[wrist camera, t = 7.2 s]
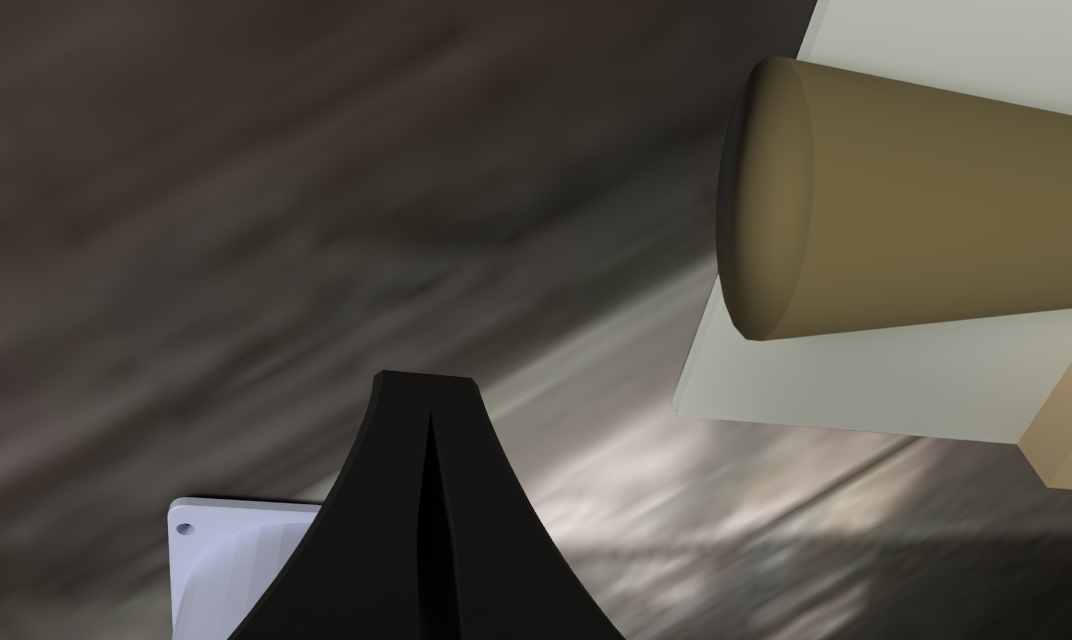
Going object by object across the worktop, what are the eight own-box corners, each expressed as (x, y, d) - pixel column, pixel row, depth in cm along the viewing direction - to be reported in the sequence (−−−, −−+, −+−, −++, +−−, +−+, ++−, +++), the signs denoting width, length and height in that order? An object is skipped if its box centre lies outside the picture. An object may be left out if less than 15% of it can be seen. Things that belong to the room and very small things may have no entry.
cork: (764, -1, 20) (1236, 31, 22) (701, 218, 25) (1097, 235, 26) (843, 173, 16) (1424, 201, 17) (751, 400, 20) (1221, 410, 22)
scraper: (1035, 433, 30) (1076, 489, 28) (671, 401, 28) (689, 460, 26) (1396, -103, 21) (1494, -72, 19) (895, -213, 19) (949, -193, 17)
